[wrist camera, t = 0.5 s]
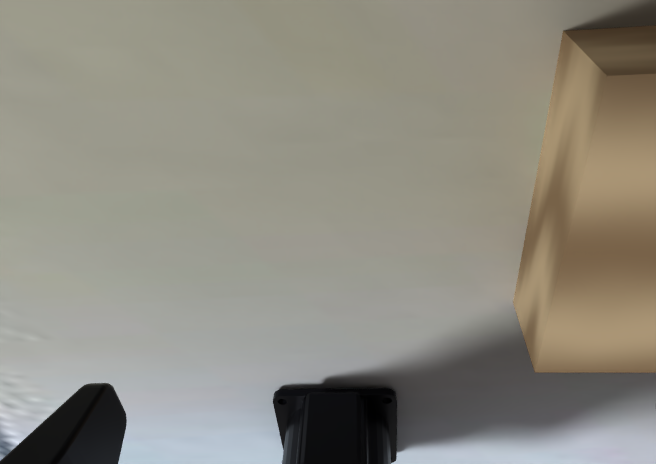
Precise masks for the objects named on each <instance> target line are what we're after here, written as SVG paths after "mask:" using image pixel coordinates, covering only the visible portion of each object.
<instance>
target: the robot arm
mask: <svg viewBox="0 0 656 464" xmlns="http://www.w3.org/2000/svg"><path fill="white" fill-rule="evenodd" d="M273 404H274V409H275V413H276V418H277V423H278V427H279V432H280V436H281V441H282V445H283V450H284V452H283V460H282V464H391V463H392V462H394V461H396V440H397V397H396V392H395V391H394V390H392V389H388V388H369V389H287V390H278V391H276V392H275V393H274V398H273ZM125 429H126V413H125V411H124V408H123V406H122V404H121V402H120V400H119V398H118V396H117V394H116V392H115V390H114V388H113V386H112V385H110V384H108V383H92V384H86V385H84V386H83V387H81V388H80V389H79V390H78V391H77V392H76V393H75V394H73V395H72V396H71V397H70V398H69V399H68V400H67V401H66V402H65V403H64V404H62V405H61V406H60V407H59V408H58V409H57V410H56V411H55V412H54V413H53V414H52V415H50V416H49V417H48V418H47V419H46V420H45V421H44V422H43V423H42V424H41V425H39V426H38V427H37V428H36V429H35V430H34V431H33V432H32V433H31V434H30V435H28V436H27V437H26V438H25V439H24V440H23V441H22V442H21V443H20V444H19V445H17V446H16V447H15V448H14V449H13V450H12V451H11V452H10V453H9V454H8V455H7V456H5V457H4V458H3V459H2V460H1V461H0V464H118V461H119V457H120V452H121V448H122V443H123V438H124V434H125Z"/></svg>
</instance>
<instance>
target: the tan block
mask: <svg viewBox="0 0 656 464" xmlns="http://www.w3.org/2000/svg"><path fill="white" fill-rule="evenodd" d="M513 304H514V307H515V310H516V313H517V317H518V320H519V323H520V326H521V329H522V333H523V336H524V339H525V342H526V346H527V349H528V352H529V355H530V359H531V362H532V365H533V368H534V372H535V373H656V25H652V26H636V27H619V28H603V29H587V30H570V31H563V35H562V40H561V46H560V51H559V57H558V62H557V68H556V73H555V78H554V84H553V89H552V95H551V100H550V106H549V111H548V116H547V122H546V127H545V133H544V138H543V143H542V149H541V154H540V160H539V165H538V171H537V176H536V181H535V187H534V192H533V198H532V203H531V209H530V214H529V219H528V225H527V230H526V236H525V241H524V247H523V252H522V257H521V263H520V268H519V274H518V279H517V284H516V290H515V295H514V301H513Z"/></svg>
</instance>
